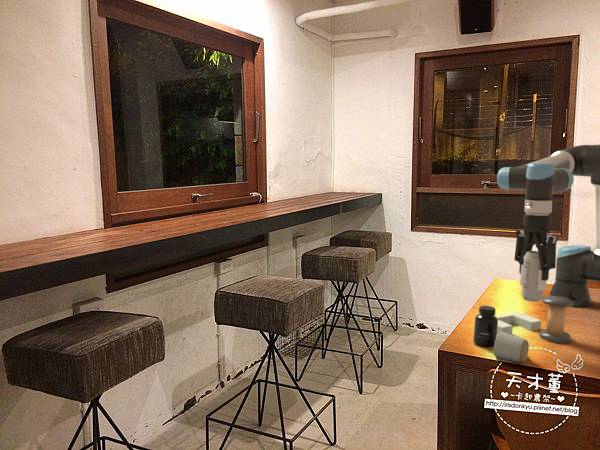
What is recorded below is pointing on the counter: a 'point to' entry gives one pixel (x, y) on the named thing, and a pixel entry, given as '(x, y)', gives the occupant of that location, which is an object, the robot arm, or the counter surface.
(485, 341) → the supplement bottle
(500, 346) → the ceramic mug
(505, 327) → the notched board
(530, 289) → the energy drink can
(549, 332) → the bobbin
